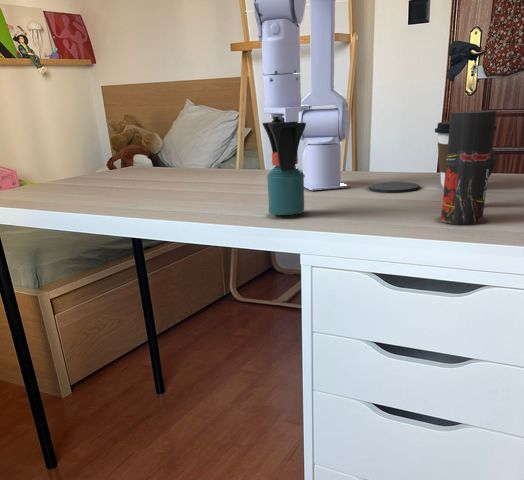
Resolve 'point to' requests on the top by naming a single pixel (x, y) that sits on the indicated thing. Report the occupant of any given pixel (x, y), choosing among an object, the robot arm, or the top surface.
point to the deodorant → (467, 166)
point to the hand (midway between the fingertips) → (284, 168)
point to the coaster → (393, 187)
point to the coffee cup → (443, 146)
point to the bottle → (285, 191)
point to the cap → (275, 159)
